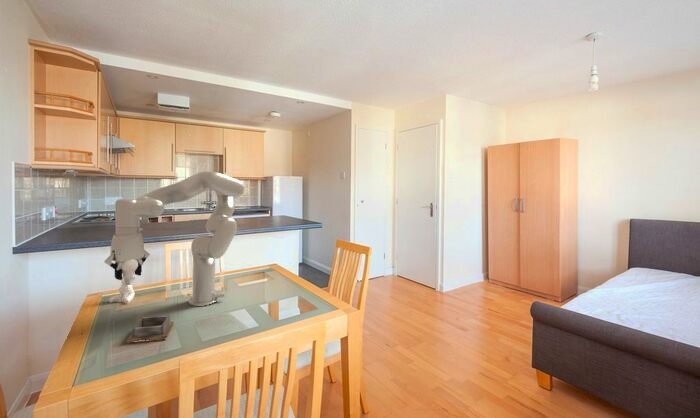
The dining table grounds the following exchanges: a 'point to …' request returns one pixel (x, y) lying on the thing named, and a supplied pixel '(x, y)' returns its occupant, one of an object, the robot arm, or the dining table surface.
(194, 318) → the dining table surface
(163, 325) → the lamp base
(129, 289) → the sitting furry creature
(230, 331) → the dining table surface
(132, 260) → the lightbulb
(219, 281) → the dining table surface
